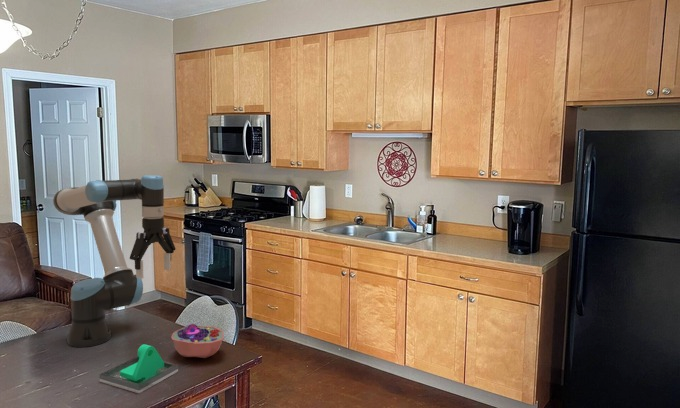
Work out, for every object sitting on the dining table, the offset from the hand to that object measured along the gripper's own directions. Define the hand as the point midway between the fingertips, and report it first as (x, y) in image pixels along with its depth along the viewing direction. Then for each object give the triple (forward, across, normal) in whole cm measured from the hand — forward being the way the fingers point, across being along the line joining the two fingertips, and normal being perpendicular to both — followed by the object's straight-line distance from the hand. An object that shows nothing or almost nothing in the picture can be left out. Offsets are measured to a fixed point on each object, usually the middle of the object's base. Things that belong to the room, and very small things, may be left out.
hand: (154, 273), depth 184 cm
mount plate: (+29, -20, -13) cm, 37 cm away
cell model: (+29, +2, -19) cm, 35 cm away
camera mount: (+28, -20, -14) cm, 37 cm away
